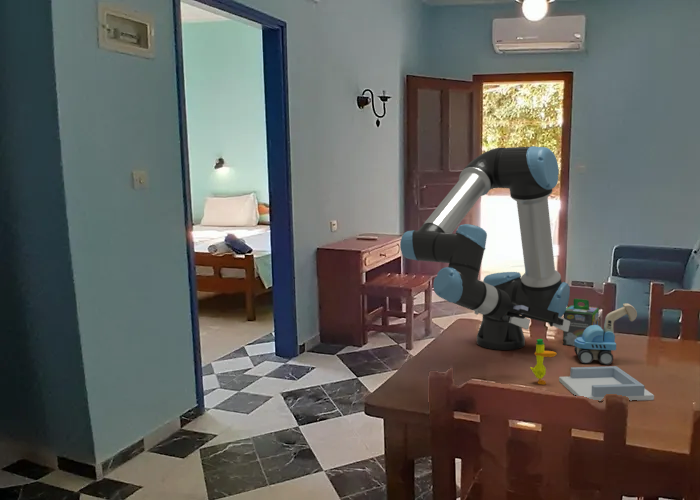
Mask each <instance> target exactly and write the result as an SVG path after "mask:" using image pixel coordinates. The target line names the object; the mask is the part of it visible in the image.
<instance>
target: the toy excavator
mask: <svg viewBox="0 0 700 500" xmlns="http://www.w3.org/2000/svg"><path fill="white" fill-rule="evenodd" d="M626 315H627V316H628V320H629V322H634V321H635V320H636V318H637V316H638V312H637V309H636V308H635V307H634V306H633V305H631V304H630V303H622V306H621V307H620V308H618V309H614V310H613V311H611V312H609V313H607V314H606V315H605V319H604V324H603V325H604V326H603V327H601V325H599V326H598V325H591V326H589V327H587V328H586V329H585V330H584V332H583V335H582V337H578V338H577V339H575V340H574V345H575V346H574V353H575V355H576V356H577V358H578V360H579V362H581V363H582V364H584V365H585V364H591V363H592V362H593V361H598V362H599V363H600V364H601V365H604V366H609V365H610V364H612V362H614V355H613V353H612V351H617V343H616V342H615V341H616V340H615V339H616V335H615V332H614V327H615V326H614V324H615V321H617V320H619V319H620V318H622V317H624V316H626Z"/></svg>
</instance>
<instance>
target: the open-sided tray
mask: <svg viewBox="0 0 700 500" xmlns="http://www.w3.org/2000/svg"><path fill="white" fill-rule="evenodd" d="M569 371H570V373H569V374H570V375H569V376H559V377H558V381H559V383H560V384H561V385H562V386H563V387H565V388H566V389H567V390H568V391H569V392H570V393H571V394H572V395H573V394H574V395H573V396H575V395H577V396H584V397H587V398H589V399H593V400H599V401H601V400H602V399H603V398H604V396H605V395H606V394H617V395H622V396H626V397H628V398H629V400H630V401H632V400H637V401H654V400H655V395H654V394H653V393H652V392H650V391H649V390H648V389H646V388H645V385H644V384H643V383H641V382H640V381H638V380H637V379H636V378H634V377H633V376H631V375H630V374H628V373H627V372H625V371H624V370H622V369H621V368H620V367H618V365H616V366H615V365H614V366H613V365H611V366H609V365H605V366H578V367H576V366H575V367H574V366H573V367H570V370H569ZM632 402H633V401H632Z"/></svg>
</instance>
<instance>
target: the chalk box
mask: <svg viewBox="0 0 700 500" xmlns="http://www.w3.org/2000/svg"><path fill="white" fill-rule="evenodd" d="M579 303H583V304H584V305H579ZM599 310H600V309H599V307H597V306H590V302H589V300H588V299H585V298H584V299H583V298H574V299H573V305H570V306H567V308H566V310H565V313H564V314H563V316H562V318H564V319H566V320H568V321H570V325H569V330H568V332H566V331H563V330H562V335H563V336H562V338H563V339H562V340H563V341H562V344H563V345H564V346H565V345H566V346H573V347H575V345H574V340H575V339H577V338H578V337H582V335H583V332H584V330H585V329H586V328H587V327H589V326H591V325H598V326H600V325H599V322H600V321H599V319H600V318H599V317H600V314H599V312H600V311H599Z"/></svg>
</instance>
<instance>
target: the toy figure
mask: <svg viewBox="0 0 700 500" xmlns="http://www.w3.org/2000/svg"><path fill="white" fill-rule="evenodd" d="M534 356H536V357H535V359H536V364H535V365H534V367H531V366H530V367H529V368H530V370H531V371H532V373H533V375H534V377H535V378H536V379H538V381H537V385H543V386H544V385H547V382H546V380H543V378H544V376H545V375H546V374H547V373H546V372H547V370H546V369H547V368H546V366H545V365H544V360H545V359H544V358H554V357H555V356H557V352H555V351H553V350H552V351H551V350H545V342H544V339H543V338H538V339H536V343H535V352H534Z"/></svg>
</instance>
